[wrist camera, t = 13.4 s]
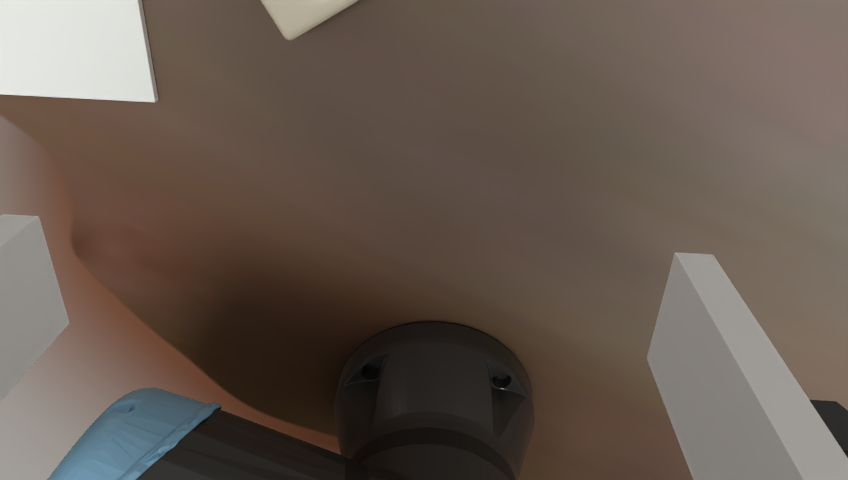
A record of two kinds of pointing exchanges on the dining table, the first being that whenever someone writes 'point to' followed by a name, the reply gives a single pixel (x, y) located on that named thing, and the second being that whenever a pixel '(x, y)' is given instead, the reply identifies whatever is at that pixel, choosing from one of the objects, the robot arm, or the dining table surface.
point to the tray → (76, 50)
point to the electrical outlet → (302, 14)
